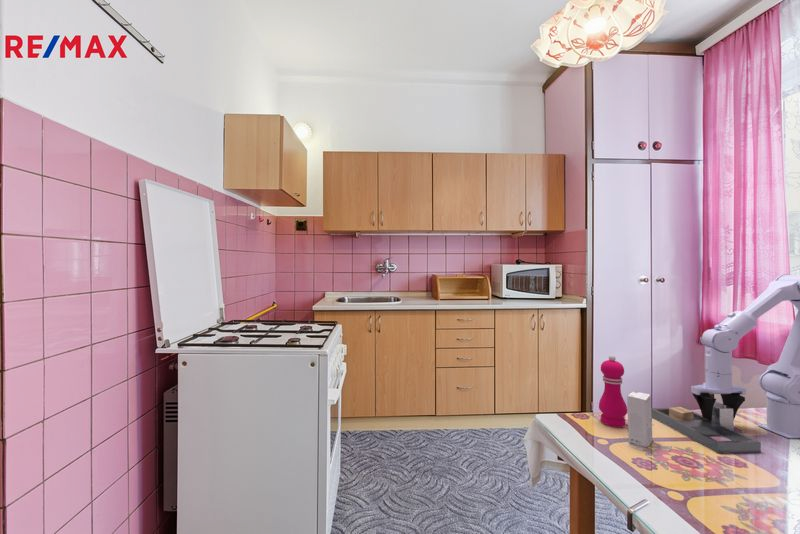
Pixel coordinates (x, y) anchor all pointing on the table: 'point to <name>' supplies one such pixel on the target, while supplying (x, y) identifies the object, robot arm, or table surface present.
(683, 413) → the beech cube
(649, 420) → the skincare box
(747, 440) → the grey slotted frame
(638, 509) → the table surface
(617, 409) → the pepper mill
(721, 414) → the grey block with tab
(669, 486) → the table surface
